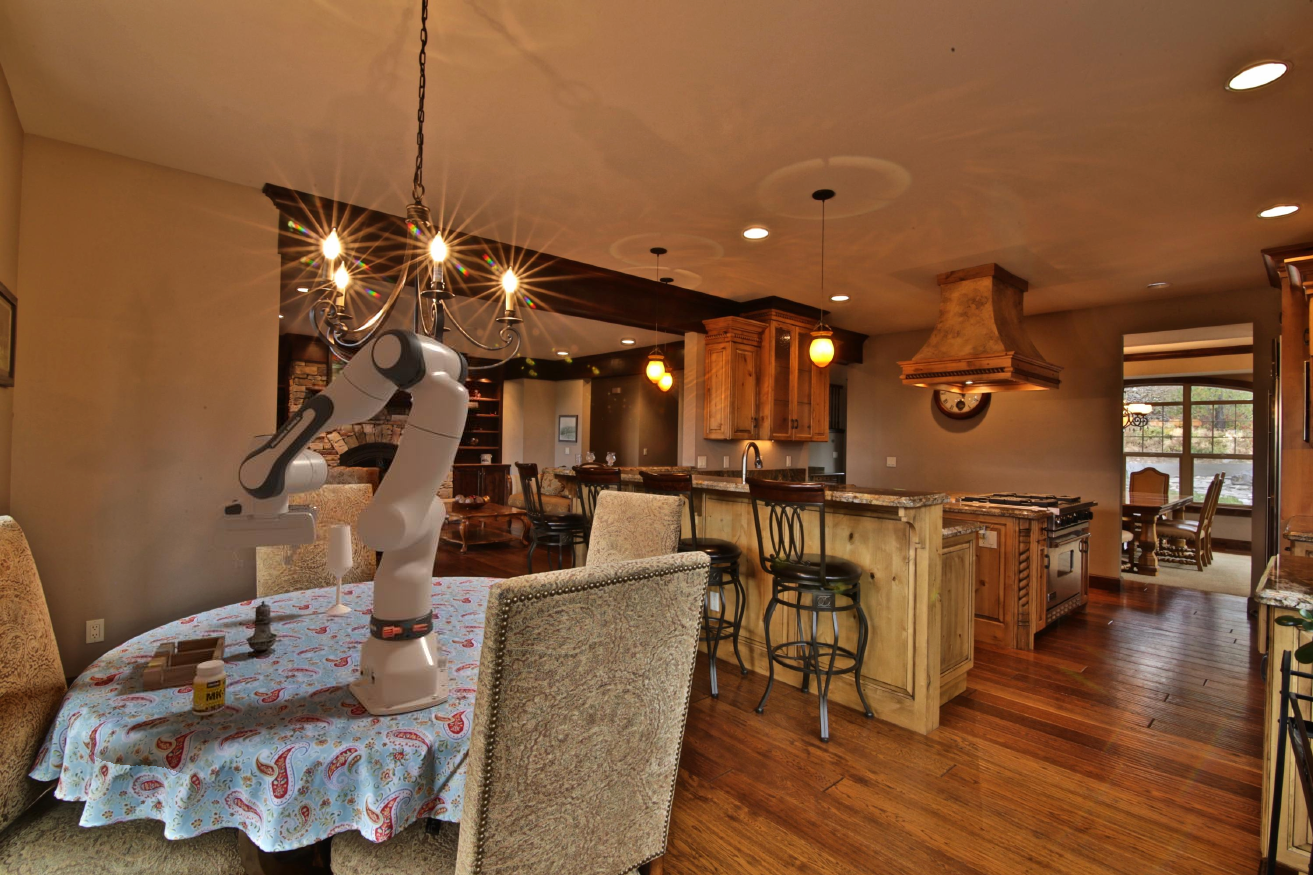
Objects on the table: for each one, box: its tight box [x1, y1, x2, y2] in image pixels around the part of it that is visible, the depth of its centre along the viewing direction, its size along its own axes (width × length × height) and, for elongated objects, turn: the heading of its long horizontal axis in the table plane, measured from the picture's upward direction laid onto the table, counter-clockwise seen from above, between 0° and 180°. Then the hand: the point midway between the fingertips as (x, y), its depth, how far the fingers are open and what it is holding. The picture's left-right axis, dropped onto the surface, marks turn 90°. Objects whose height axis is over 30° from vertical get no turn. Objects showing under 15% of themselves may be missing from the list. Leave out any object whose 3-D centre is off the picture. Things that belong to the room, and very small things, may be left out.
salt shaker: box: [246, 600, 278, 659], centre depth 137 cm, size 6×6×12 cm
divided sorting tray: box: [142, 635, 226, 692], centre depth 126 cm, size 18×12×4 cm, turn 31°
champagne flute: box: [324, 524, 354, 615], centre depth 169 cm, size 7×7×24 cm
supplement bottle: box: [192, 660, 227, 716], centre depth 109 cm, size 5×5×8 cm
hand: (263, 565), depth 137 cm, fingers open, 8 cm apart
